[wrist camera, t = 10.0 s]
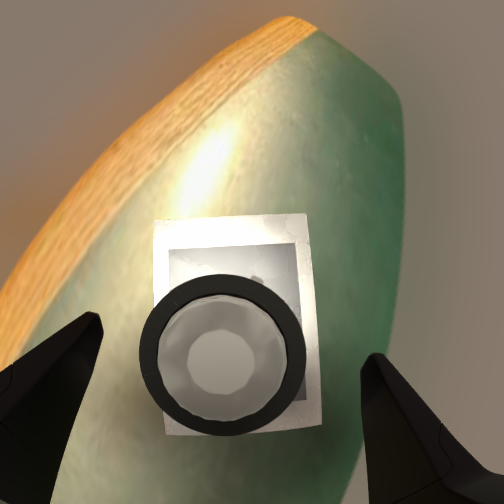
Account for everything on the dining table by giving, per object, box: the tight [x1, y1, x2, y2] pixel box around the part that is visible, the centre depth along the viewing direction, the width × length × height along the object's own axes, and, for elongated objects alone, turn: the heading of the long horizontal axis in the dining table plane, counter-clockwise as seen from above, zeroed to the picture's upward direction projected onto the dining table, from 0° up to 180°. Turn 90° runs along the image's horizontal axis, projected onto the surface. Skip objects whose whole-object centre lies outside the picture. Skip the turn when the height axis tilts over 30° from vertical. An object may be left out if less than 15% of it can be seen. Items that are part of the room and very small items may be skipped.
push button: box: [139, 274, 307, 436], centre depth 13 cm, size 7×5×10 cm
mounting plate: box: [154, 213, 322, 436], centre depth 19 cm, size 14×10×1 cm
